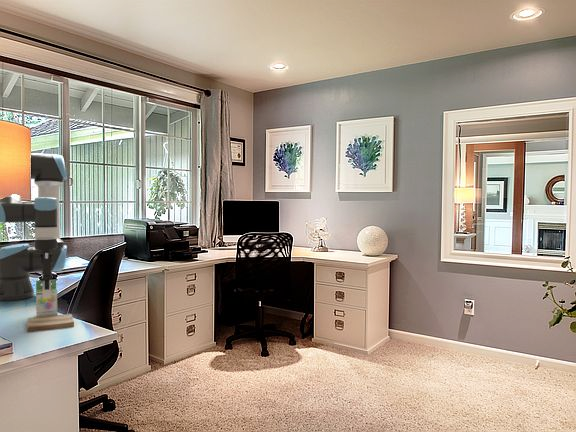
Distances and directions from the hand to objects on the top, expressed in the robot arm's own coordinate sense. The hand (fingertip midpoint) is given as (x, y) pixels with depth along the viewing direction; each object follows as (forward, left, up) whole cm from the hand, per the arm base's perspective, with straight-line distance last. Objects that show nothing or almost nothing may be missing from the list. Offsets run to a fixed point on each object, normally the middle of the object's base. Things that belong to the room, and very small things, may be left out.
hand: (46, 294), depth 163 cm
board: (+13, +1, -8) cm, 15 cm away
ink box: (0, 0, -8) cm, 8 cm away
